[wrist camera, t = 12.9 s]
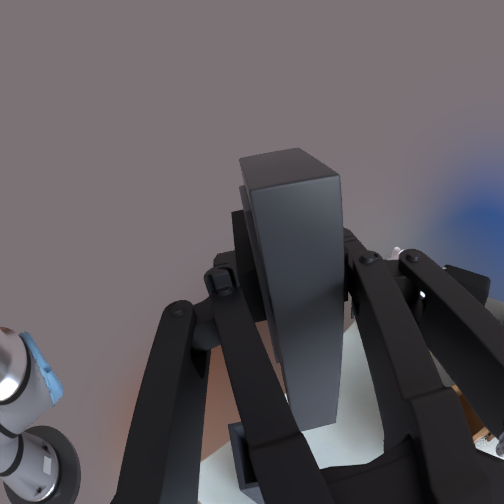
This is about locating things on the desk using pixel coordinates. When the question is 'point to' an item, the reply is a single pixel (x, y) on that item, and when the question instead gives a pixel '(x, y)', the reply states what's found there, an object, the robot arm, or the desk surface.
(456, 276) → the electronic device
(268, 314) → the block
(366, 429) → the desk surface
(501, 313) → the desk surface
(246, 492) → the caddy
